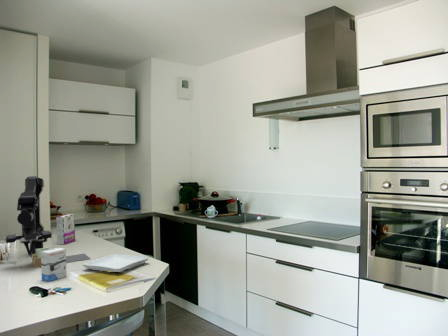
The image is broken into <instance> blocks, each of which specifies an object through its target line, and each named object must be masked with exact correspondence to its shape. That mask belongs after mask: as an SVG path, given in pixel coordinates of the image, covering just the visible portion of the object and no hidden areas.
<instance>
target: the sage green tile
mask: <svg viewBox="0 0 448 336" xmlns="http://www.w3.org/2000/svg"><path fill="white" fill-rule="evenodd" d="M50 249H51V248H50V246H47V247H43V248H39V249H36V255H37V257H38V258H41V252H42V251H45V250H50Z"/></svg>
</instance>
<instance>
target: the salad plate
mask: <svg viewBox="0 0 448 336" xmlns="http://www.w3.org/2000/svg"><path fill="white" fill-rule="evenodd" d="M148 260H149V257H146V256H140V255H132V254H119V253H113V254H109V255H107V256H104V257H103V256H102V257H100V258H97V259H94V260H90V261H87V262H85V263H82V267H84V268H86V269H89V270H93V271H95V270H100V271H99V272H102V271H111V272H120V273H122V272H121V271H123V272H125V271H124V270H126V269H128V270H131V269H134V268H135V267H138V266H141V265H142V264H144V263H146V262H147V261H148ZM126 271H127V270H126Z"/></svg>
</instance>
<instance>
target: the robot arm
mask: <svg viewBox="0 0 448 336" xmlns="http://www.w3.org/2000/svg"><path fill="white" fill-rule="evenodd" d="M44 187H45V181H44V179H43V178H40V177H38V176H37V175H36V176H35V175H32V176H27V177H26V178H25V179H24V191H23V192H21V193H20V195H19V197H18V199H17V206H16V211H20V213H19V214H18V215H17V222H18V224H20V225H21V235H16V234H7V235H6V236H5V243H6V244H10V243H11V244H12V243H15V242H16V241H19V242H20V244H23V245H24V248H25V249H26V252H27V255H28V256H32V254H36V249H39V248H44V243H46V242H48V239H52V235H53V234H52V232H51V231H50V230H45V227H44V226H43V224H42V223H41V200H40V199H41V197H40V196H41V194H42V192H44V191H43V190H44Z"/></svg>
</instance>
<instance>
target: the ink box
mask: <svg viewBox="0 0 448 336" xmlns="http://www.w3.org/2000/svg"><path fill="white" fill-rule="evenodd" d="M66 256H67V249H66V248H62V247H55V248H50V250H45V251H42V252H41V267H40V268H41V270H40V271H41V281H44V282H49V283H50V282H53V281H56V280H59V279H63V278H65V277H68V276H67V272H68V271H67V263H66Z"/></svg>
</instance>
